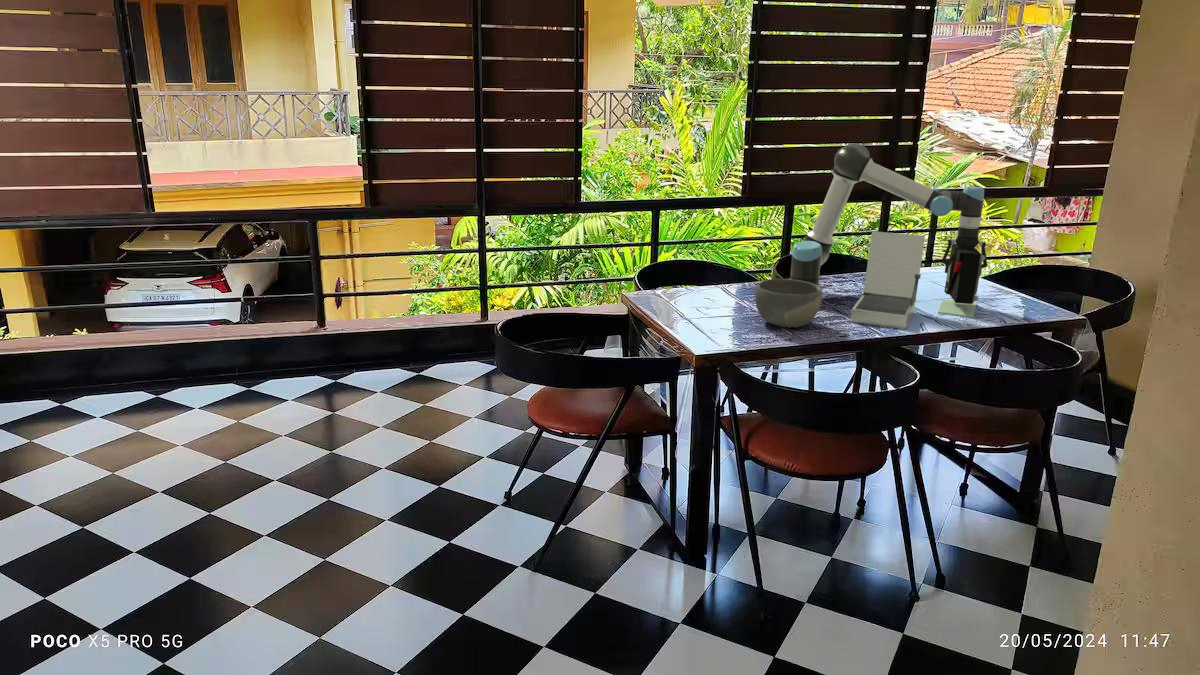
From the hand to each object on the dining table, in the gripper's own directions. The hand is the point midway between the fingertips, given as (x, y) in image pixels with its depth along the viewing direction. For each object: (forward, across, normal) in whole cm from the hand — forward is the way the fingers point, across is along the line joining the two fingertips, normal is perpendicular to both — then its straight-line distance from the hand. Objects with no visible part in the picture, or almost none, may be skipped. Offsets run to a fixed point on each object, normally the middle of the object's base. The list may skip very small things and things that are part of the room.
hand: (961, 282), depth 335 cm
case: (+11, -25, -23) cm, 36 cm away
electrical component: (+6, 0, 0) cm, 6 cm away
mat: (+11, 0, 0) cm, 11 cm away
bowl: (+11, -56, -53) cm, 78 cm away
